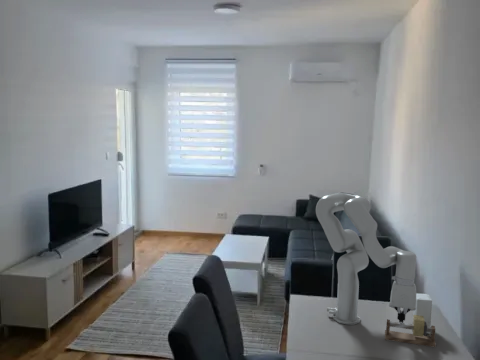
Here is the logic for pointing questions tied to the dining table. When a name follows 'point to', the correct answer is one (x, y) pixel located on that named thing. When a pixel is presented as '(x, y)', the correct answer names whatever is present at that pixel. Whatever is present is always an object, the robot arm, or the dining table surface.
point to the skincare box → (424, 308)
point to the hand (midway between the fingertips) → (400, 321)
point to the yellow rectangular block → (418, 325)
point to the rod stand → (410, 337)
